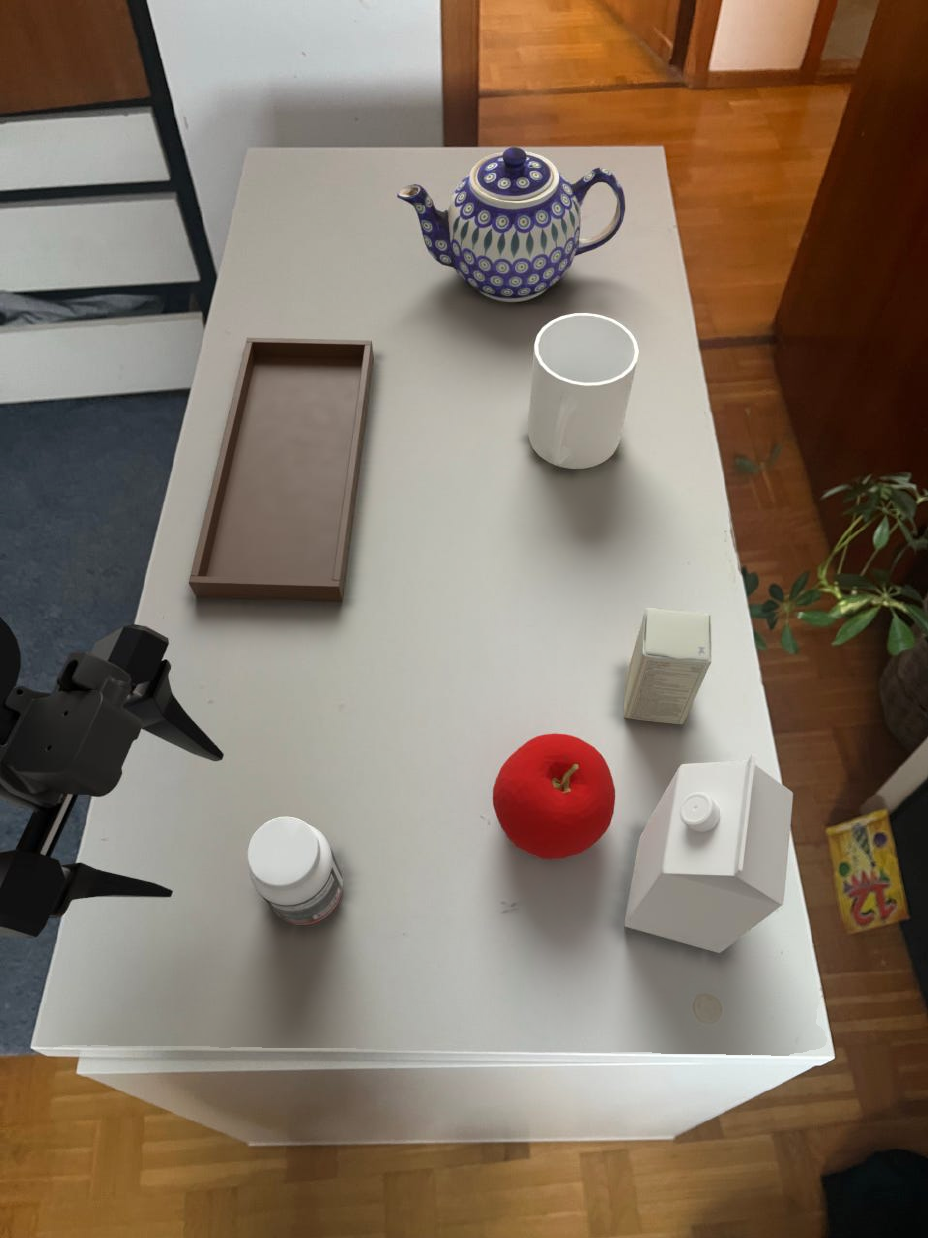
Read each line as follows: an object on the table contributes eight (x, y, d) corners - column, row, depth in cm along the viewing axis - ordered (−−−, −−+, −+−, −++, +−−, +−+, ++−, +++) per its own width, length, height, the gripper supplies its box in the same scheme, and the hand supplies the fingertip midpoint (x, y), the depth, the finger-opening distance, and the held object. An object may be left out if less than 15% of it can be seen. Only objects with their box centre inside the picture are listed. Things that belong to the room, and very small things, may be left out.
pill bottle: (269, 853, 68) (240, 811, 59) (342, 846, 68) (325, 803, 60) (267, 931, 65) (237, 897, 56) (345, 922, 65) (326, 888, 57)
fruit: (580, 893, 66) (597, 855, 58) (472, 841, 68) (473, 797, 60) (624, 788, 70) (646, 738, 62) (521, 742, 72) (529, 687, 64)
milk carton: (731, 860, 67) (815, 769, 51) (719, 954, 64) (806, 888, 48) (639, 836, 68) (693, 738, 52) (623, 927, 65) (675, 853, 49)
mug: (619, 406, 92) (638, 316, 82) (619, 496, 86) (639, 410, 76) (529, 400, 92) (537, 309, 82) (522, 489, 86) (529, 402, 76)
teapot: (607, 230, 107) (626, 106, 94) (625, 312, 99) (648, 190, 87) (402, 236, 107) (393, 113, 94) (404, 320, 99) (394, 198, 86)
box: (684, 681, 75) (715, 613, 66) (683, 726, 73) (715, 663, 64) (622, 673, 76) (645, 605, 66) (620, 718, 74) (642, 654, 64)
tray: (342, 602, 80) (339, 586, 77) (195, 597, 80) (188, 582, 78) (373, 358, 96) (371, 340, 94) (251, 355, 96) (246, 337, 94)
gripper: (-99, 882, 38) (205, 979, 47) (82, 542, 48) (308, 673, 56) (-152, 890, 46) (118, 972, 54) (13, 596, 55) (221, 704, 64)
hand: (195, 823), depth 57 cm, fingers open, 9 cm apart
